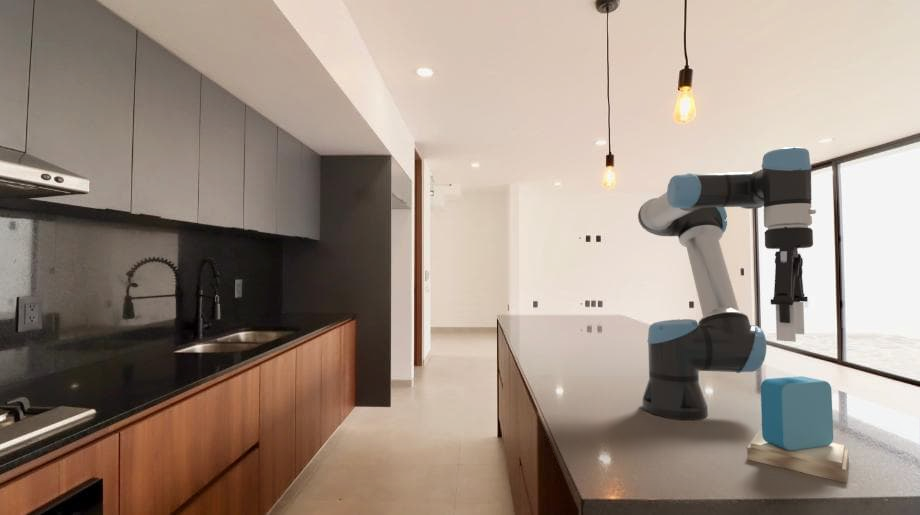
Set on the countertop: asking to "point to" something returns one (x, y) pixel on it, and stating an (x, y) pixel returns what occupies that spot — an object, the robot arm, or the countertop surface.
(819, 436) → the blue box
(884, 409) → the countertop surface
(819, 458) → the stand
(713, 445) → the countertop surface
